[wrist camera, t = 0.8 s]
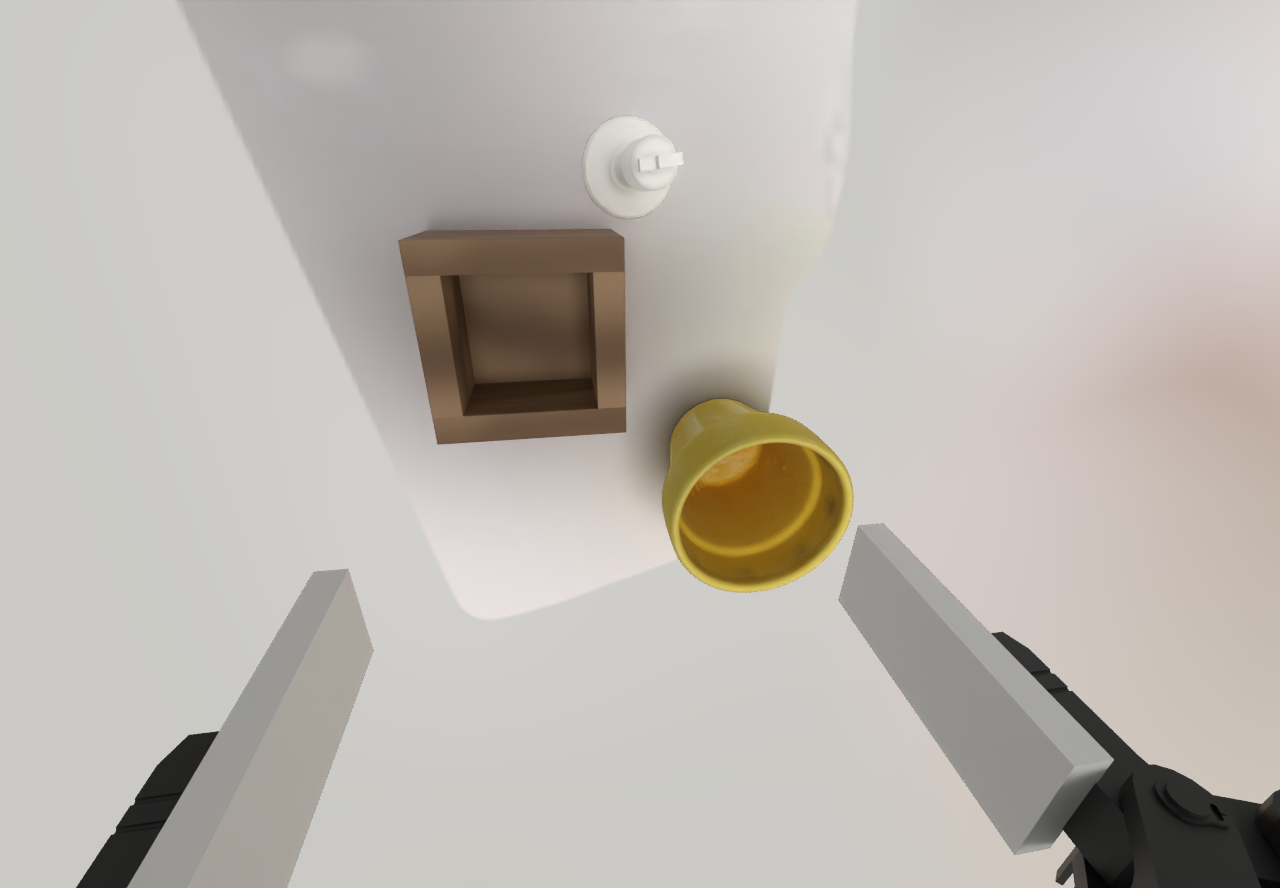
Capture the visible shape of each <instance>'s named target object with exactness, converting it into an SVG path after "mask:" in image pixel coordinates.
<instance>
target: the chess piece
mask: <svg viewBox="0 0 1280 888" xmlns="http://www.w3.org/2000/svg"><path fill="white" fill-rule="evenodd" d="M679 165H684V164H683V152H679V153H677V150H676V148H675V146H674V145H673V143H672V142H671V141H670V140H669V139H667V138H666V137H664V136H663V134H662V133H661V132H660V131H659V129H658V128H656V127H655V126H654V125H653V124H651V123H650V122H648V121H646V120H644V119H642V118H639V117H635V116H618V117H615V118H612V119H610V120H608V121H606V122H604V123H603V124H602V125H600V126H599V127H598V128H597V129H596V130H595V131H594V133H593V134H592V135H591V137H590V139H589V140H588V143H587V145H586V147H585V151H584V155H583V162H582V171H583V178H584V182H585V186H586V188H587V191H588V193H589V194H590V196H591V198H592V199H593V201H594V202H595V203H596V204H597V205H598V206H599V207H600V208H601V209H602V210H603V211H605V212H606V213H608V214H610V215H612V216H615V217H618V218H623V219H634V218H639V217H642V216H644V215H646V214H648V213H650V212H651V211H653V210H654V209H655V208H656V207H657V206H658V205H659V204H660V203H661V202H662V201H663V199H664V198H665V196H666V195H667V193H668V191H669V188H670V186H671V182H672V181H673V180H674V178H675V177H676V174H677V172H678V167H679Z"/></svg>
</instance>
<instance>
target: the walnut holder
mask: <svg viewBox="0 0 1280 888" xmlns="http://www.w3.org/2000/svg"><path fill="white" fill-rule="evenodd" d="M398 242H399V247H400V252H401V258H402V263H403V268H404V273H405V278H406V284H407V289H408V294H409V299H410V304H411V309H412V315H413V320H414V325H415V330H416V335H417V340H418V346H419V351H420V356H421V361H422V366H423V371H424V377H425V382H426V387H427V392H428V397H429V402H430V408H431V413H432V418H433V423H434V428H435V433H436V439H437V444H453V443H468V442H484V441H499V440H514V439H529V438H545V437H560V436H575V435H591V434H606V433H621V432H626V368H625V271H624V238H623V237H622V236H620V235H619V234H617V233H616V232H614V231H613V230H611V229H580V230H465V231H424V232H421V233H419V234H416V235H413V236H410V237H407V238H405V239H402V240H399V241H398Z"/></svg>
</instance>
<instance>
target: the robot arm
mask: <svg viewBox="0 0 1280 888" xmlns="http://www.w3.org/2000/svg"><path fill="white" fill-rule="evenodd" d="M839 602H840V603H841V605H842V606H843V608H844V609H845V611H846V612H847V613H848V615H849V616H850V618H851V619H852V621H853V622H854V624H855V625H856V626H857V628H858V629H859V631H860V632H861V634H862V635H863V637H864V638H865V640H866V641H867V642H868V644H869V645H870V647H871V648H872V650H873V651H874V653H875V654H876V655H877V657H878V658H879V660H880V661H881V663H882V664H883V665H884V667H885V668H886V670H887V671H888V673H889V674H890V676H891V677H892V679H893V680H894V681H895V683H896V684H897V686H898V687H899V689H900V690H901V691H902V693H903V694H904V696H905V697H906V699H907V700H908V702H909V703H910V705H911V706H912V707H913V709H914V710H915V712H916V713H917V715H918V716H919V717H920V719H921V720H922V722H923V723H924V725H925V726H926V728H927V729H928V731H929V732H930V733H931V735H932V736H933V738H934V739H935V741H936V742H937V743H938V745H939V746H940V748H941V749H942V751H943V752H944V754H945V755H946V757H947V758H948V759H949V761H950V762H951V764H952V765H953V767H954V768H955V770H956V771H957V773H958V774H959V775H960V777H961V778H962V780H963V781H964V783H965V784H966V786H967V787H968V788H969V790H970V791H971V793H972V794H973V796H974V797H975V799H976V800H977V801H978V803H979V804H980V806H981V807H982V809H983V810H984V812H985V813H986V814H987V816H988V817H989V819H990V820H991V822H992V823H993V824H994V826H995V828H996V829H997V830H998V832H999V833H1000V835H1001V836H1002V837H1003V839H1004V841H1005V842H1006V843H1007V845H1008V846H1009V848H1010V849H1011V851H1012V852H1013V853H1014V855H1018V854H1023V853H1028V852H1033V851H1038V850H1043V849H1048V848H1050V847H1051V846H1052V845H1053V843H1054V842H1055V840H1056V839H1057V838H1058V836H1059V835H1060V834H1061V832H1062V831H1063V830H1064V832H1065V833H1066V834H1067V835H1068V837H1069V838H1070V839H1071V840H1072V842H1073V843H1074V844H1075V845H1076V847H1075V848H1074V849H1073V851H1072V852H1071V853H1070V855H1069V856H1068V857H1067V858H1066V860H1065V861H1064V863H1063V864H1062V865H1061V866H1060V868H1059V869H1058V870H1057V875H1056V882H1057V883H1059V884H1061V885H1063V884H1064V883H1065V882H1066V881H1067V879H1068V878H1069V877H1070V876H1071V874H1072V873H1073V875H1074V883H1075V887H1074V888H1280V790H1278V791H1276V792H1274V793H1273V794H1272V795H1271V796H1270V797H1269V798H1268V799H1267V800H1266V801H1265V802H1264V803H1263V804H1258V803H1252V802H1247V801H1242V800H1236V799H1231V798H1225V797H1220V796H1214V795H1212V794H1210V793H1209V792H1208V791H1206V790H1205V789H1204V788H1202V787H1201V786H1199V785H1198V784H1197V783H1196V782H1194V781H1193V780H1191V779H1189V778H1187V777H1186V776H1184V775H1182V774H1180V773H1177V772H1176V771H1174V770H1171V769H1168V768H1165V767H1161V766H1158V765H1149V764H1147V763H1146V762H1145V761H1144V760H1143V759H1142V758H1141V757H1139V756H1138V755H1137V754H1136V753H1135V752H1134V751H1133V750H1132V749H1131V748H1130V747H1129V746H1128V745H1127V744H1126V743H1125V742H1124V741H1123V740H1122V739H1121V738H1120V737H1119V736H1118V735H1116V733H1114V731H1113V730H1112V729H1110V728H1109V727H1108V726H1107V725H1106V724H1105V723H1104V722H1103V721H1102V720H1101V719H1100V718H1099V717H1098V716H1097V715H1096V714H1095V713H1094V712H1093V711H1092V710H1091V709H1090V708H1089V707H1088V706H1087V705H1086V704H1085V703H1084V702H1083V701H1082V700H1081V699H1080V698H1079V697H1078V696H1077V695H1076V694H1075V693H1074V692H1073V691H1069V690H1068V689H1067V686H1066V685H1065V684H1064V683H1063V682H1062V681H1061V680H1060V679H1059V678H1058V677H1057V676H1056V675H1055V674H1052V673H1051V672H1050V669H1049V668H1048V667H1047V666H1046V665H1045V664H1044V663H1043V662H1042V661H1041V660H1040V659H1039V658H1038V657H1037V656H1036V655H1035V654H1034V653H1032V652H1031V650H1030V649H1028V648H1027V647H1025V646H1024V645H1022V644H1021V643H1019V642H1018V641H1016V640H1014V639H1013V638H1011V637H1010V636H1008V635H1006V634H1005V633H1003V632H998V633H990V632H989V631H988V630H987V629H986V628H985V627H984V626H983V625H982V624H981V623H980V622H979V621H978V620H977V619H976V618H975V617H974V616H973V615H972V613H970V611H969V610H968V609H967V608H966V607H965V606H964V605H963V604H962V603H961V602H960V601H959V600H958V599H957V598H956V597H955V596H954V595H953V594H952V593H951V592H950V591H949V590H948V589H947V588H946V587H945V586H944V585H943V584H942V583H941V582H940V581H939V580H938V579H937V578H936V577H935V576H934V575H933V574H932V573H931V572H930V570H929V569H928V568H927V567H926V566H924V564H923V563H922V562H921V561H920V560H919V559H918V558H917V557H916V556H915V555H914V554H913V553H912V552H911V551H910V550H909V549H908V548H907V547H906V546H905V545H904V544H903V543H902V542H901V541H900V540H899V539H898V538H897V537H896V536H895V535H894V534H893V533H892V532H891V531H890V529H888V527H887V526H886V525H885V524H883V523H882V524H871V525H859V526H858V528H857V532H856V536H855V540H854V543H853V547H852V551H851V555H850V558H849V563H848V567H847V570H846V574H845V577H844V581H843V585H842V589H841V593H840V596H839ZM372 653H373V647H372V644H371V641H370V638H369V634H368V631H367V628H366V625H365V621H364V618H363V615H362V611H361V608H360V605H359V602H358V598H357V595H356V592H355V589H354V585H353V582H352V579H351V576H350V572H349V569H341V570H329V571H317V572H313V574H312V576H311V577H310V579H309V580H308V582H307V584H306V586H305V587H304V589H303V591H302V592H301V594H300V596H299V597H298V599H297V601H296V602H295V604H294V606H293V608H292V609H291V611H290V613H289V614H288V616H287V618H286V620H285V621H284V623H283V625H282V626H281V628H280V630H279V631H278V633H277V635H276V636H275V638H274V640H273V641H272V643H271V645H270V647H269V648H268V650H267V652H266V653H265V655H264V657H263V658H262V660H261V662H260V664H259V665H258V667H257V668H256V670H255V672H254V674H253V675H252V677H251V679H250V680H249V682H248V684H247V686H246V687H245V689H244V690H243V692H242V694H241V696H240V697H239V699H238V701H237V702H236V704H235V706H234V708H233V709H232V711H231V713H230V714H229V716H228V718H227V719H226V721H225V723H224V724H223V726H222V728H221V729H220V731H217V732H210V733H201V734H194V735H189V736H187V737H186V738H185V739H184V740H183V741H182V742H181V743H180V744H179V745H178V746H177V747H176V748H175V749H174V750H173V751H172V752H171V753H170V754H169V755H167V756H166V757H165V758H164V759H163V760H162V761H161V762H160V763H159V764H158V765H157V767H156V768H155V769H154V771H153V772H152V774H151V776H150V777H149V778H148V780H147V781H146V783H145V785H144V786H143V788H142V789H141V791H140V792H139V794H138V795H137V797H136V798H135V803H134V805H132V806H130V807H129V809H128V810H127V812H126V813H125V815H124V816H123V818H122V820H121V821H120V822H119V824H118V825H117V827H116V832H115V834H113V835H111V836H110V838H109V839H108V840H107V842H106V843H105V845H104V847H103V848H102V849H101V851H100V852H99V854H98V855H97V857H96V859H95V860H94V861H93V863H92V865H91V866H90V868H89V869H88V871H87V872H86V874H85V875H84V877H83V878H82V880H81V881H80V883H79V884H78V886H77V887H76V888H287V886H288V883H289V881H290V878H291V875H292V872H293V870H294V867H295V864H296V862H297V859H298V856H299V853H300V851H301V848H302V845H303V842H304V839H305V837H306V834H307V831H308V829H309V826H310V823H311V820H312V818H313V815H314V812H315V810H316V806H317V804H318V801H319V799H320V796H321V793H322V790H323V788H324V785H325V782H326V779H327V777H328V774H329V771H330V768H331V766H332V763H333V760H334V758H335V755H336V752H337V749H338V747H339V744H340V741H341V738H342V735H343V733H344V730H345V727H346V725H347V722H348V719H349V716H350V714H351V711H352V708H353V705H354V703H355V700H356V697H357V695H358V692H359V689H360V686H361V684H362V681H363V678H364V675H365V673H366V670H367V667H368V664H369V662H370V659H371V656H372Z"/></svg>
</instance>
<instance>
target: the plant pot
mask: <svg viewBox="0 0 1280 888" xmlns="http://www.w3.org/2000/svg"><path fill="white" fill-rule="evenodd" d="M662 506H663V513H664V518H665V522H666V526H667V530H668V533H669V536H670V539H671V542H672V545H673V548H674V550H675V553H676V555H677V557H678V559H679V560H680V562H681V563H682V565H683V566H684V567H685V568H686V569H687V570H688V571H689V572H690V573H691V574H692V575H693V576H694V577H695V578H697V579H698V580H700V581H702V582H703V583H705V584H707V585H709V586H712V587H714V588H717V589H720V590H725V591H731V592H740V593H741V592H743V593H744V592H745V593H747V592H758V591H765V590H770V589H774V588H777V587H780V586H783V585H785V584H788V583H790V582H793V581H795V580H796V579H798V578H800V577H802V576H804V575H806V574H807V573H808V572H810V571H811V570H813V569H814V568H815V567H817V566H818V565H819V564H820V563H821V562H822V561H824V560H825V559H826V558H827V557H828V556H829V554H830V553H831V552H832V551H833V550H834V549H835V547H836V546H837V545H838V543H839V542H840V540H841V538H842V537H843V535H844V533H845V531H846V529H847V527H848V524H849V522H850V518H851V515H852V509H853V487H852V483H851V479H850V476H849V473H848V471H847V469H846V468H845V466H844V464H843V462H842V461H841V460H840V459H839V457H838V456H837V455H836V454H835V453H834V452H833V451H832V450H831V449H830V448H829V447H828V446H827V445H826V444H825V443H824V442H823V441H822V440H821V439H820V438H819V437H818V436H817V435H815V434H814V433H813V432H812V431H811V430H809V429H808V428H807V427H805V426H804V425H803V424H801V423H799V422H797V421H796V420H793V419H791V418H789V417H786V416H783V415H779V414H774V413H766V412H758V411H756V410H755V409H753V408H751V407H749V406H747V405H745V404H743V403H741V402H739V401H735V400H731V399H712V400H708V401H705V402H703V403H700V404H698V405H696V406H695V407H693V408H692V409H691V410H689V411H688V412H687V413H686V414H685V415H684V416H683V417H682V418H681V419H680V420H679V422H678V423H677V425H676V426H675V428H674V431H673V433H672V436H671V442H670V467H669V470H668V472H667V475H666V478H665V481H664V485H663V492H662Z"/></svg>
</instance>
